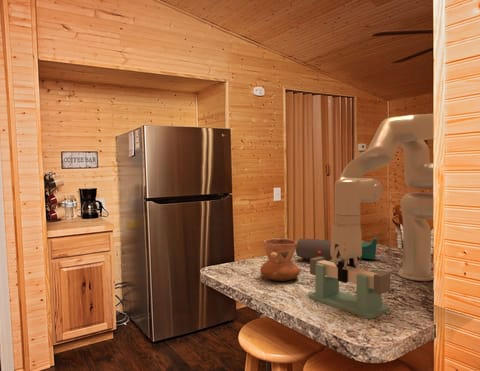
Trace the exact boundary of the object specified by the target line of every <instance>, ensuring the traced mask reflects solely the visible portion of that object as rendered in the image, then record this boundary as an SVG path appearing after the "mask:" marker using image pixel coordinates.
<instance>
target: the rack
mask: <svg viewBox="0 0 480 371" xmlns="http://www.w3.org/2000/svg"><path fill="white" fill-rule="evenodd" d="M330 262H332V261H331V260H330ZM369 271H371V272H375V273H381V272H382V271H379V270H375V269H370V270H369ZM314 277H315V283H314V284H315V285H314V286H315V288H314V289H315V292H312V293H310V294H309V293H308V298H309V299H311V298H312V299H311V300H314V299H315V300H314V301H317V302H319V303H322V302H323V304H325V303H326V305H328V304H329V305H328V306H331V305H332V307H334V308H336V307H337V309H339V308H340V310H342V309H343V310H342V311H345V310H346V311H345V312H349V313H350V312H351V314H353V315H356V314H357V315H356V316H359V315H360V316H359V317H362V316H363V317H362V318H364V317H366V318H365V319H367V318H369V319H368V320H372V319H374V318H373V317H375V318H376V316H377V317H378V315H379V316H381V315H383V314H385V313H387V312H389V311H390V310H391V308H390V306H387V305H385V304H382V300H383V299H382V298H383V296H382V295H383V294H377V293H374V289H371V288H368V276H364V275H360V274H358V275H357V284H356V291H355V292H356V293H355V294H356V295H353V294H349V293H347V292H343V291H340V281H338V279H336V278H333V277H329V276H326V275H325V265H321V264H315V275H314ZM380 314H381V315H380ZM371 318H372V319H371Z"/></svg>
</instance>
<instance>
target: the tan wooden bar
mask: <svg viewBox="0 0 480 371" xmlns="http://www.w3.org/2000/svg"><path fill="white" fill-rule="evenodd" d="M315 264H321V265H325V277H327V276H329V277H333V278H336V279H338V268H337V267H336V265H335V263H333V262H330V261H325V257H316V258H311V259H309V275H312V276H315ZM346 269H347V270H348V282H347V283H350V284H354V285H357V275H358V274H360V275H364V276H368V288H371V289H374V293H377V294H382V295H383V294H385V293H387V292H390V291H391V272H388V271H380V272H381V273H375V272H371V271H370V270H366V269H363V268H362V269H361V268H358V267H357V268H354V267H350V266H347V267H346Z"/></svg>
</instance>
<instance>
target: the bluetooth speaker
mask: <svg viewBox="0 0 480 371" xmlns="http://www.w3.org/2000/svg"><path fill="white" fill-rule="evenodd" d="M296 242H297V244H296V248H295V253H296V256H297V257H298V258H299V257H300V258H303V259H306V260H310V259H311V258H316V257H325V261H330V260H332V257H331V254H330V250H331V240H327V239H318V238H317V239H315V238H299V239H297V241H296ZM351 259H352V258H351ZM341 262H342V263H343V261H342V260H341ZM347 265H348V259H347Z"/></svg>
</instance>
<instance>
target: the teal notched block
mask: <svg viewBox="0 0 480 371" xmlns="http://www.w3.org/2000/svg"><path fill="white" fill-rule="evenodd" d="M377 243H378V238H377V237H374V236H373V237H372V240H371V241H370V242H367V241H362V256H361V257H360V258H359V260H358V262H359V261H360V262H362V260H363V259H369V260H376V253H377V245H378V244H377Z"/></svg>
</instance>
